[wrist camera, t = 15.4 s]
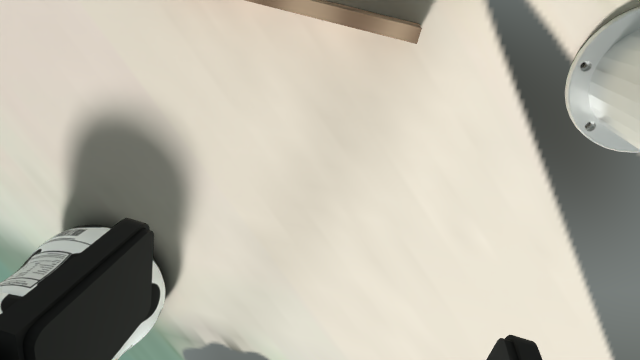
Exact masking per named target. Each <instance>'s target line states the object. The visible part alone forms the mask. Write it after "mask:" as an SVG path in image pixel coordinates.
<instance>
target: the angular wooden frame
mask: <svg viewBox="0 0 640 360" xmlns="http://www.w3.org/2000/svg"><path fill="white" fill-rule="evenodd" d="M246 1H250V2H254V3H258V4H261V5H265V6H269V7H273V8H277V9H281V10H285V11H289V12H293V13H297V14H301V15H305V16H309V17H313V18H317V19H321V20H325V21H329V22H332V23H336V24H340V25H344V26H348V27H352V28H356V29H360V30H364V31H368V32H372V33H376V34H380V35H384V36H388V37H392V38H396V39H400V40H404V41H407V42H411V43H415V44H417V42H418V38H419V35H420V32H421V29H422V28H421V26H420V24H418V23H414V22H410V21H406V20H402V19H398V18H394V17H390V16H385V15H381V14H377V13H373V12H369V11H365V10H361V9H357V8H353V7H349V6H345V5H341V4H337V3H333V2H329V1H325V0H246Z"/></svg>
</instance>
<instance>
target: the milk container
mask: <svg viewBox="0 0 640 360" xmlns="http://www.w3.org/2000/svg"><path fill="white" fill-rule="evenodd" d="M110 229H111V228H109V227H104V226H98V225H85V226H78V227H74V228H71V229H69V230H66V231H64V232H61V233H59V234H57V235H55V236H54V237H52V238H50V239H49V240H47V241H46V242H44V243H43V244H42V245H41V246H39V247H38V248H37V249H36V250H35V251H34V252H33V253H32V255H31V256H30V257H29V258H28V259H27V261H26V262H25V263H24V264H23V266H22V267H21V268H20V269H19V270H18V271H17V272H15V273H14V274H13V275H11V276H10V277H9V278H7V279H6V280H4V281H3V282H1V283H0V314H1V313H3V312H4V311H5V310H6V309H8V308H9V307H10V306H11V305H13V304H14V303H15V302H17V301H18V300H19V299H20V298H22V297H23V296H24V295H25V294H27V293H28V292H29V291H31V290H32V289H33V288H34V287H36V286H37V285H38V284H39V283H41V282H42V281H43V280H45V279H46V278H47V277H48V276H50V275H51V274H52V273H53V272H55V271H56V270H57V269H59V268H60V267H61V266H62V265H64V264H65V263H66V262H67V261H69V260H70V259H72V258H74V257H76V256H77V255H79V254H80V253H81V252H82V251H84V250H85V249H86V248H87V247H89V246H90V245H91V244H92V243H94V242H95V241H96V240H98V239H99V238H100V237H101V236H103V235H104V234H105V233H106V232H108V231H109V230H110ZM164 302H165V282H164V279H163V275H162V273H161V270H160V268H159V266H158V265H157V263H156V262H155V260H154V259H153V267H152V292H151V307H150V310H149V313H148V314H147V316H146V318H145V319H144V320H143V322H142V323H141V324H140V325H139V327H138V328H137V329H136V330H135V331H134V333H133V334H132V335H131V336H130V338H129V339H128V340H127V341H126V343H125V344H124V345H123V346H122V348H121V349H120V350H119V351H118V353H117V354H116V355H115V356H114V358H113V359H112V360H118V358H119V357H120V356H121V355H122V354H123V353H125V352H126V351H127V350H128V349H130V348H131V347H132V346H134V345H135V344H136V343H138V342H139V341H140V340H141V339H142V338H143V337H144V336H145V335H146V334H147V333H148V332H149V331H150V329H151V328H152V327H153V325H154V324H155V322H156V320H157V319H158V317H159V315H160V313H161V310H162V308H163V305H164Z"/></svg>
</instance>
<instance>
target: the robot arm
mask: <svg viewBox="0 0 640 360" xmlns="http://www.w3.org/2000/svg"><path fill="white" fill-rule="evenodd" d="M583 62H585V65H584V67H582V68H580V66H581V64H582V63H583ZM565 100H566V107H567V110H568V113H569V116H570V118H571V120H572V121H573V123H574V125H575V126H576V127H577V129H578V130H579V131H580V132H582V134H583V135H584V136H586V137H587V138H589V139H590V140H591V141H593V142H594V143H596V144H598V145H600V146H602V147H604V148H607V149H611V150H615V151H620V152H632V153H635V152H640V7H637V8H634V9H631V10H629V11H627V12H625V13H623V14H621V15H619V16H617V17H615V18H614V19H612V20H611V21H610V22H608V23H607V24H605V25H604V26H602V27H601V28H600V29H599V30H598V31H597V32H596V33H595V34H594V35H593V36H591V37H590V38H589V39H588V41H587V42H586V43H585V44H584V46H583V47H582V48H581V50H580V51H579V52H578V54H577V56H576V58H575V60H574V61H573V63H572V65H571V68H570V71H569V74H568V77H567V80H566V88H565ZM587 123H589V125H588V126H585V125H586V124H587ZM153 242H154V233H153V232H152V231H150V230H149V226H148V225H147V224H146V223H142V222H139V221H136V220H132V219H129V218H125V219H123V220H122V221H120V222H119V223H118V224H116V225H115V226H114V227H113V228H111V229H110V230H109V231H108V232H106V233H105V234H104V235H103V236H101V237H100V238H99V239H98V240H96V241H95V242H94V243H92V244H91V245H90V246H89V247H87V248H86V249H85V250H84V251H82V252H81V253H80V254H79V255H77V256H76V257H74V258H72V259H70V260H69V261H67V262H66V263H65V264H64V265H62V266H61V267H60V268H59V269H57V270H56V271H55V272H53V273H52V274H51V275H50V276H48V277H47V278H46V279H45V280H43V281H42V282H41V283H39V284H38V285H37V286H36V287H34V288H33V289H32V290H31V291H29V292H28V293H27V294H25V295H24V296H23V297H22V298H20V299H19V300H18V301H17V302H15V303H14V304H13V305H11V306H10V307H9V308H8V309H6V310H5V311H4V312H3V313H1V314H0V360H112V359H113V358H114V356H115V355H116V354H117V353H118V351H119V350H120V349H121V348H122V346H123V345H124V344H125V343H126V341H127V340H128V339H129V338H130V336H131V335H132V334H133V333H134V331H135V330H136V329H137V328H138V327H139V325H140V324H141V323H142V322H143V320H144V319H145V318H146V316H147V314H148V313H149V310H150V307H151V292H152V267H153ZM487 360H542V358H541V355H540V352H539V350H538V347H537V345H536V343H534V342H533V341H530V340H526V339H523V338H520V337H517V336H513V335H508V336H507V337H506V338H505V339H503V338H500V339H499V340H498V341H497V342H496V344H495V346H494V348H493V349H492V351H491V353H490V354H489V356H488V358H487Z"/></svg>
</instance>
